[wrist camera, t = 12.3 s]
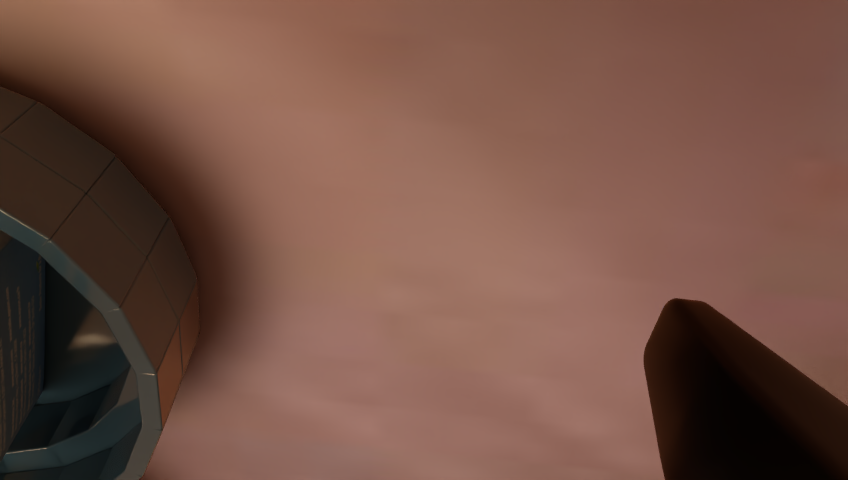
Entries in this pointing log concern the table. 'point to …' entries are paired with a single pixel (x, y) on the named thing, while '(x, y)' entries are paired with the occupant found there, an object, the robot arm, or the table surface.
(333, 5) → the table surface
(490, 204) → the table surface
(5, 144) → the bowl
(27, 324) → the blue retail package
